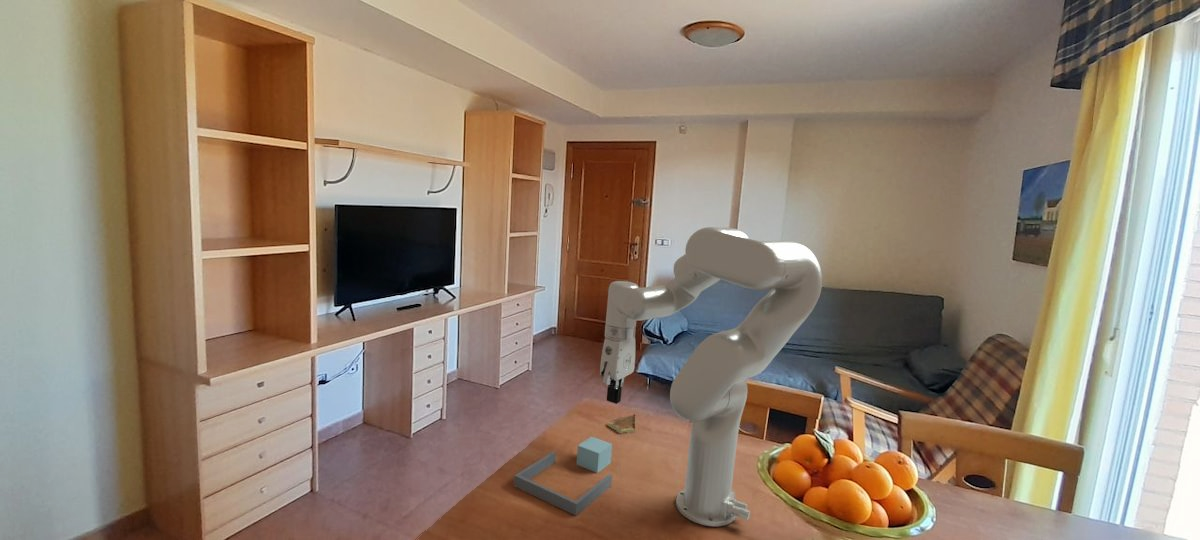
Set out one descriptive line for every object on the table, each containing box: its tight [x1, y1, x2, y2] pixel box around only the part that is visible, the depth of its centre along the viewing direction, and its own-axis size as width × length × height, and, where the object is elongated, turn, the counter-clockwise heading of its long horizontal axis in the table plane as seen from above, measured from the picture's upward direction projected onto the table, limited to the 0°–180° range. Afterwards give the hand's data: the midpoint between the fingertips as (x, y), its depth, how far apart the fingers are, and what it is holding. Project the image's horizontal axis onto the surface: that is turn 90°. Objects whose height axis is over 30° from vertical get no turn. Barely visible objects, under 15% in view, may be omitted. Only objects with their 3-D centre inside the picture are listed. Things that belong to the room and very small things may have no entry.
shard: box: [607, 413, 636, 434], centre depth 143 cm, size 11×8×2 cm
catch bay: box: [513, 450, 613, 516], centre depth 111 cm, size 17×14×2 cm
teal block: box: [576, 436, 613, 474], centre depth 121 cm, size 6×6×5 cm
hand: (613, 401), depth 127 cm, fingers closed
